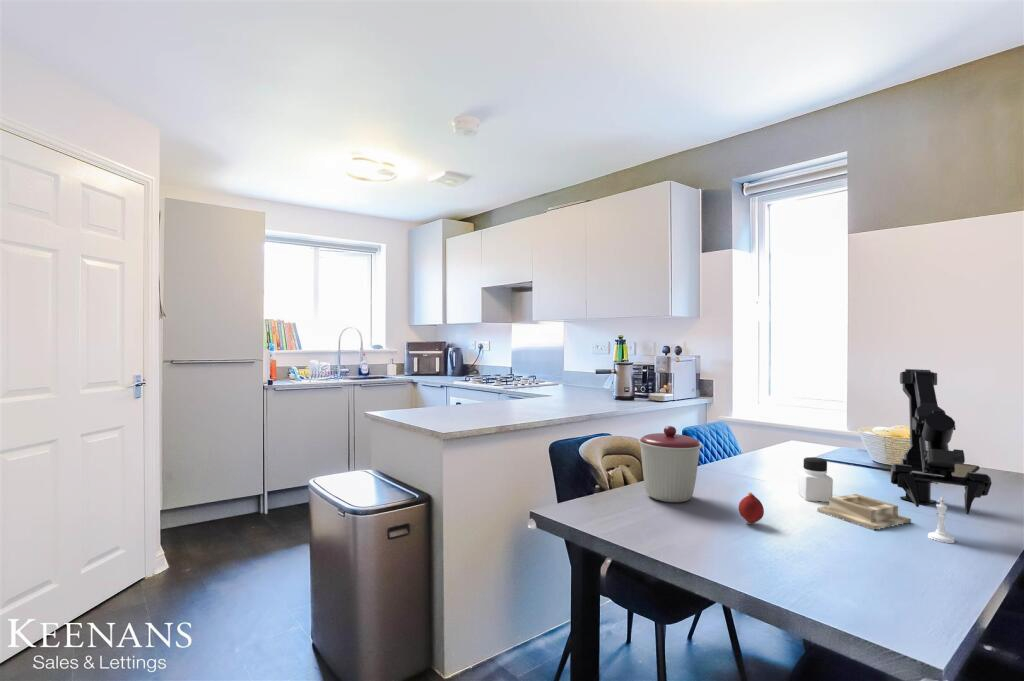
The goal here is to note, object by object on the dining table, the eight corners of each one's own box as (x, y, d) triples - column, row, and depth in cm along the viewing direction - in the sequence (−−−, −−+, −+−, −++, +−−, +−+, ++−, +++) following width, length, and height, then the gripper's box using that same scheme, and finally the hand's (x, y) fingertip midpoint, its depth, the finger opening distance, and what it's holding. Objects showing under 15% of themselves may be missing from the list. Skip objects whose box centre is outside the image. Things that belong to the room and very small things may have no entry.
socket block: (853, 505, 148) (853, 491, 148) (910, 522, 134) (911, 507, 134) (817, 511, 142) (817, 496, 142) (874, 530, 128) (874, 514, 128)
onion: (761, 521, 133) (762, 490, 133) (765, 529, 127) (765, 497, 127) (737, 518, 135) (738, 488, 135) (739, 526, 129) (740, 494, 129)
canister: (680, 512, 139) (681, 434, 139) (624, 495, 153) (626, 425, 153) (713, 499, 151) (714, 427, 151) (659, 485, 165) (660, 419, 165)
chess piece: (922, 535, 125) (923, 494, 125) (941, 534, 126) (941, 494, 126) (940, 543, 120) (941, 500, 120) (960, 542, 121) (961, 500, 121)
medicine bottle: (832, 502, 150) (833, 461, 149) (805, 501, 151) (806, 460, 151) (823, 495, 156) (823, 456, 156) (797, 493, 158) (798, 454, 158)
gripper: (892, 431, 132) (896, 484, 122) (990, 440, 122) (1002, 498, 113) (888, 457, 138) (892, 509, 129) (981, 467, 129) (992, 524, 119)
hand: (942, 509), depth 122 cm, fingers open, 9 cm apart
